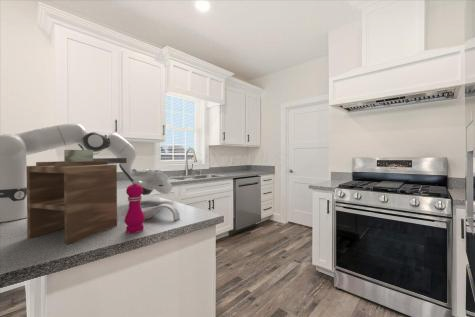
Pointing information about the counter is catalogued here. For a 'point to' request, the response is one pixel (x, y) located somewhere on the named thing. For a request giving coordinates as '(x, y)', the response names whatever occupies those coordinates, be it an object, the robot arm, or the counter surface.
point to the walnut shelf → (71, 198)
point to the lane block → (88, 157)
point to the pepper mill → (134, 209)
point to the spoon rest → (151, 211)
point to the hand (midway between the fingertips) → (140, 170)
